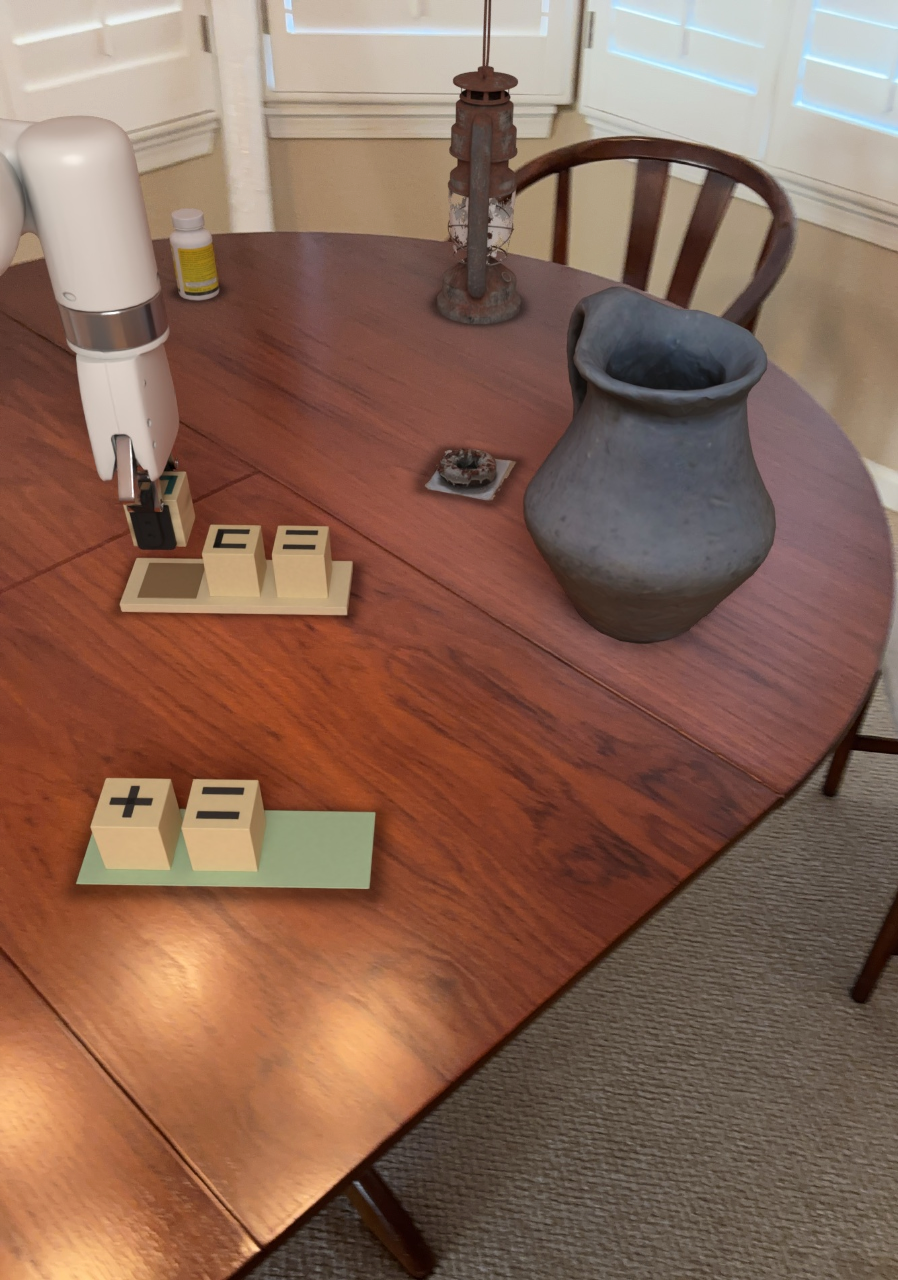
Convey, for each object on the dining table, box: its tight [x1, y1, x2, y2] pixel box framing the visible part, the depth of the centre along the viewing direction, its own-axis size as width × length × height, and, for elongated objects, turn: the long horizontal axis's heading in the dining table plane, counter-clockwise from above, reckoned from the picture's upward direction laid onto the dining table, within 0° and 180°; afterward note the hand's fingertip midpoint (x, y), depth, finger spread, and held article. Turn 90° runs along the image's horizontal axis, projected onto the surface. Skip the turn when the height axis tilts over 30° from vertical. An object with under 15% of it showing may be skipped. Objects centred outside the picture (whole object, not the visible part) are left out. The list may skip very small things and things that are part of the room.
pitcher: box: [522, 286, 777, 645], centre depth 86 cm, size 21×22×25 cm
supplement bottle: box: [169, 207, 220, 301], centre depth 136 cm, size 5×5×10 cm
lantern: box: [436, 0, 522, 325], centre depth 125 cm, size 11×16×35 cm
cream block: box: [122, 471, 196, 548], centre depth 89 cm, size 4×4×5 cm
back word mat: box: [119, 524, 354, 616], centre depth 94 cm, size 20×7×6 cm, turn 89°
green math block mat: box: [75, 777, 376, 890], centre depth 73 cm, size 20×7×6 cm, turn 89°
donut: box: [424, 447, 517, 502], centre depth 108 cm, size 8×8×2 cm
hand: (163, 528), depth 91 cm, fingers closed on cream block, 4 cm apart
